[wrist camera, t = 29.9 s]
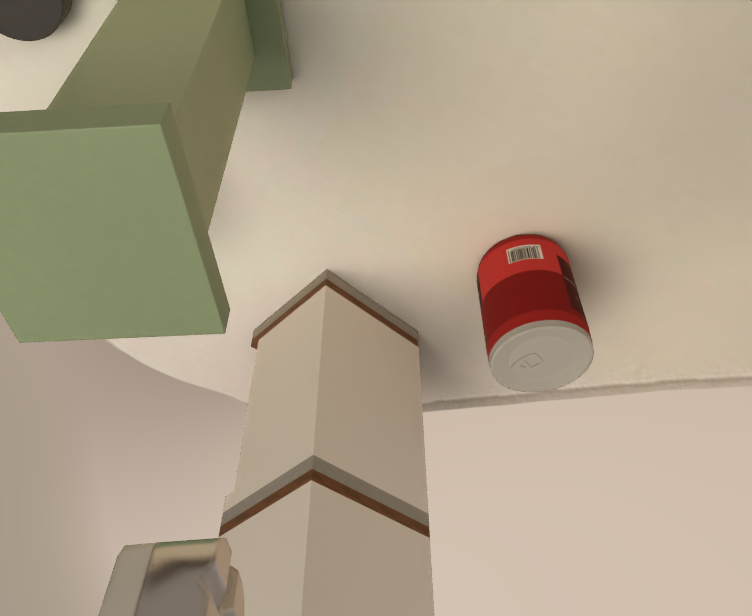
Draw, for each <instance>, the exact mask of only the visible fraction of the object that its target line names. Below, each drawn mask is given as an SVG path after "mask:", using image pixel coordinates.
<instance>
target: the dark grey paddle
mask: <svg viewBox="0 0 752 616" xmlns="http://www.w3.org/2000/svg"><path fill="white" fill-rule="evenodd" d="M71 5H72V0H0V33H1V34H3V35H5V36H7V37H10V38H13V39H17V40H22V41H35V40H40V39H44V38H46V37H48V36H49V35H51V34H52V33H53V32H54V31H55V30H56V29H57V28H58V27H59V25H60V24H61V23H62V21H63V20H64V19H65V17H66V16H67V15H68V13H69V11H70V8H71Z"/></svg>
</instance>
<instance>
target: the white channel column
mask: <svg viewBox="0 0 752 616" xmlns="http://www.w3.org/2000/svg"><path fill="white" fill-rule="evenodd" d="M251 347H253V348H255V349H257V354H256V360H255V366H254V372H253V379H252V385H251V391H250V397H249V404H248V410H247V416H246V423H245V428H244V435H243V442H242V447H241V453H240V460H239V466H238V472H237V479H236V485H235V491H233V492H232V493H230V494H229V495H227V496H226V497H225V503H224V510H223V516H222V522H221V527H220V533H219V538H227V541H228V543H229V546H230V548H231V551H232V554H231V561H230V565H231V566H232V567H234V568H236V569H237V570H238V571H239V574H240V577H241V580H242V585H243V591H244V616H434V601H433V584H432V567H431V551H430V535H429V534H430V533H429V518H428V517H429V516H428V499H427V485H426V484H427V483H426V466H425V448H424V433H423V432H424V431H423V416H422V397H421V380H420V363H419V346H418V331H416V330H415V329H413V328H412V327H410V326H409V325H407V324H406V323H405V322H403V321H402V320H400V319H399V318H397V317H396V316H394V315H393V314H391V313H390V312H388V311H387V310H386V309H384V308H383V307H381V306H380V305H378V304H377V303H375V302H374V301H372V300H371V299H369V298H368V297H367V296H365V295H364V294H362V293H361V292H359V291H358V290H356V289H355V288H353V287H352V286H350V285H349V284H347V283H346V282H345V281H343V280H342V279H340V278H339V277H337V276H336V275H334V274H333V273H331V272H330V271H328V270H326V271H324V272H323V273H322V274H321V275H320V276H318V277H317V278H316V279H315V280H314V281H312V282H311V283H310V284H309V285H308V286H306V287H305V288H304V289H303V290H302V291H300V292H299V293H298V294H297V295H296V296H294V297H293V298H292V299H291V300H290V301H288V302H287V303H286V304H285V305H284V306H282V307H281V308H280V309H279V310H278V311H276V312H275V313H274V314H273V315H272V316H270V317H269V318H268V319H267V320H266V321H264V322H263V323H262V324H261V325H260V326H259V327H257V328H256V329H255V330H254V332H253V338H252V344H251Z"/></svg>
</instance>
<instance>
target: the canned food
mask: <svg viewBox="0 0 752 616" xmlns="http://www.w3.org/2000/svg"><path fill="white" fill-rule="evenodd" d="M477 286H478V293H479V300H480V307H481V314H482V321H483V328H484V335H485V342H486V349H487V355H488V361H489V366H490V369H491V372H492V375H493V376H494V378H495V379H496V380H497V381H498V382H499V383H500V384H502V385H503V386H505V387H507V388H509V389H513V390H516V391H522V392H542V391H548V390H553V389H556V388H559V387H562V386H564V385H566V384H569V383H571V382H572V381H574V380H575V379H577V378H578V377H580V376H581V375H582V374H583V373H584V372H585V371H586V370H587V369H588V367H589V366H590V364H591V362H592V360H593V355H594V350H593V343H592V339H591V335H590V331H589V327H588V324H587V321H586V317H585V314H584V311H583V307H582V304H581V301H580V298H579V294H578V291H577V288H576V284H575V281H574V278H573V274H572V271H571V268H570V264H569V261H568V258H567V256H566V254H565V252H564V251H563V250H562V249H561V248H560V247H559V246H558V245H557V244H556V243H555V242H554V241H552V240H550V239H548V238H546V237H543V236H538V235H520V236H515V237H511V238H508V239H506V240H503V241H501V242H499V243H498V244H496V245H495V246H493V247H492V248H491V249H490V250H489V251H488V252H487V253H486V254H485V255H484V257H483V258H482V260H481V262H480V265H479V268H478V272H477Z"/></svg>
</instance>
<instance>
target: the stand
mask: <svg viewBox="0 0 752 616" xmlns="http://www.w3.org/2000/svg"><path fill="white" fill-rule="evenodd" d="M292 80H293V76H292V70H291V64H290V57H289V51H288V44H287V38H286V31H285V25H284V18H283V12H282V5H281V0H118V2H117V3H116V5H115V7H114V8H113V10H112V11H111V13H110V14H109V16H108V17H107V19H106V20H105V22H104V23H103V25H102V26H101V28H100V29H99V31H98V32H97V34H96V35H95V37H94V38H93V40H92V41H91V43H90V44H89V46H88V48H87V49H86V51H85V52H84V54H83V55H82V57H81V58H80V60H79V61H78V63H77V64H76V66H75V67H74V69H73V70H72V72H71V73H70V75H69V76H68V78H67V79H66V81H65V82H64V84H63V85H62V87H61V88H60V90H59V92H58V93H57V95H56V96H55V98H54V99H53V101H52V102H51V104H50V105H49V107H48V108H47V110H31V111H15V112H0V312H1V313H2V315H3V316H4V318H5V320H6V321H7V323H8V325H9V326H10V328H11V329H12V331H13V333H14V335H15V336H16V338H17V339H18V341H19V342H20V343H21V342H44V341H67V340H89V339H113V338H135V337H158V336H180V335H203V334H224V333H225V332H226V327H227V322H228V317H229V312H230V307H229V304H228V300H227V297H226V293H225V290H224V287H223V283H222V280H221V276H220V273H219V269H218V266H217V262H216V259H215V256H214V252H213V249H212V245H211V242H210V238H209V235H208V229H209V225H210V222H211V218H212V214H213V211H214V207H215V203H216V200H217V196H218V192H219V188H220V185H221V181H222V177H223V174H224V170H225V166H226V162H227V159H228V155H229V151H230V148H231V144H232V140H233V137H234V133H235V129H236V125H237V122H238V118H239V114H240V111H241V107H242V103H243V100H244V96H245V92H247V91H264V90H281V89H291V86H292Z"/></svg>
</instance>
